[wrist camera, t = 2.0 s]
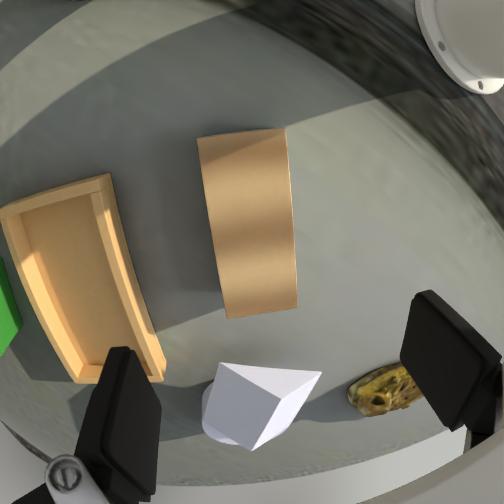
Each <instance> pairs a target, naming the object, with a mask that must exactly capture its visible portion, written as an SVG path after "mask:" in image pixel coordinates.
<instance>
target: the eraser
mask: <svg viewBox="0 0 504 504" xmlns="http://www.w3.org/2000/svg"><path fill="white" fill-rule="evenodd" d="M197 146H198V153H199V160H200V167H201V173H202V180H203V186H204V193H205V199H206V205H207V211H208V217H209V223H210V229H211V235H212V241H213V247H214V252H215V258H216V263H217V269H218V274H219V280H220V285H221V291H222V296H223V301H224V306H225V311H226V316H227V319H229V318H236V317H243V316H249V315H256V314H262V313H268V312H274V311H280V310H286V309H292V308H297V307H298V302H297V279H296V260H295V242H294V226H293V212H292V198H291V185H290V173H289V162H288V151H287V140H286V130H285V128H265V129H255V130H246V131H238V132H230V133H222V134H215V135H209V136H202V137H199V138H197Z"/></svg>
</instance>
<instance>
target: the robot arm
mask: <svg viewBox="0 0 504 504" xmlns="http://www.w3.org/2000/svg"><path fill="white" fill-rule="evenodd" d="M415 10H416V15H417V19H418V23H419V26H420V29H421V31H422V34H423V36H424V38H425V41H426V43H427V45H428V47H429V49H430V50H431V52H432V54H433V55H434V57H435V59H436V60H437V61H438V63H439V64H440V66H441V67H442V68H443V70H444V71H445V72H446V73H447V74H448V75H449V76H450V77H451V78H452V80H454V81H455V82H456V83H457V84H458V85H460V86H461V87H463V88H464V89H466V90H468V91H470V92H473V93H476V94H493V93H494V92H496V91H498V90H499V89H500V88H501V87H502V86H503V84H504V0H415ZM501 358H502V356H501V355H500V354H499V353H498V352H497V351H496V350H495V349H494V348H493V347H492V346H491V345H490V344H489V343H488V342H487V341H486V340H485V339H484V338H483V337H482V336H481V335H480V334H479V333H478V332H477V331H476V330H475V329H474V328H473V327H472V326H471V325H470V324H469V323H468V322H467V321H466V320H465V319H464V318H463V317H461V316H460V315H459V314H458V313H457V312H456V311H455V310H454V309H453V308H452V307H451V306H450V305H448V304H447V303H446V302H445V301H444V300H443V299H442V298H441V297H440V296H438V295H437V294H436V293H435V292H434V291H432V290H426V291H423V292H419V293H417V294H416V295H415V297H414V299H412V301H411V306H410V311H409V316H408V321H407V326H406V331H405V335H404V339H403V344H402V348H401V352H400V361H401V363H402V365H403V366H404V368H405V369H406V370H407V372H408V373H409V375H410V376H411V377H412V379H413V380H414V382H415V383H416V385H417V386H418V388H419V389H420V391H421V392H422V393H423V395H424V396H425V398H426V399H427V401H428V402H429V404H430V405H431V407H432V408H433V410H434V411H435V413H436V414H437V416H438V417H439V419H440V420H441V422H442V424H443V425H444V426H446V427H449V429H450V430H451V432H453V431H455V430H457V429H458V428H460V427H462V426H463V425H464V424H465V426H466V427H467V433H466V439H465V446H464V452H463V455H461V456H459V457H458V458H456V459H454V460H453V461H451V462H449V463H447V464H445V465H444V466H442V467H440V468H438V469H436V470H434V471H432V472H431V473H429V474H427V475H425V476H423V477H421V478H419V479H417V480H414V481H412V482H410V483H408V484H406V485H403V486H401V487H399V488H397V489H394V490H392V491H390V492H387V493H385V494H382V495H379V496H377V497H374V498H372V499H369V500H366V501H364V502H360V503H357V504H504V363H503V364H501V363H500V360H501ZM161 411H162V410H161V404H160V401H159V399H158V397H157V395H156V393H155V391H154V389H153V387H152V385H151V383H150V381H149V379H148V377H147V375H146V373H145V371H144V369H143V367H142V365H141V362H140V360H139V358H138V356H137V354H136V352H135V350H130V348H129V347H128V346H118V347H111V348H110V349H109V352H108V354H107V357H106V360H105V363H104V366H103V369H102V371H101V374H100V377H99V380H98V383H97V386H96V387H95V388H94V390H93V392H92V395H91V398H90V401H89V404H88V407H87V410H86V414H85V417H84V420H83V424H82V427H81V431H80V434H79V438H78V441H77V445H76V449H75V453H74V456H73V455H69V454H64V455H60V456H57V457H55V458H54V459H52V460H51V461H50V462H49V464H48V465H47V467H46V471H45V483H44V484H42V485H41V486H39V487H37V488H36V489H34V490H33V491H31V492H29V493H28V494H26V495H24V496H23V497H21V498H20V499H18V500H16V501H14V502H13V503H12V504H139V501H140V502H150V499H151V495H154V494H155V491H156V474H157V458H158V445H159V433H160V422H161Z"/></svg>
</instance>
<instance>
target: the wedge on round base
mask: <svg viewBox="0 0 504 504" xmlns="http://www.w3.org/2000/svg"><path fill="white" fill-rule="evenodd" d="M321 373H322V372H318V371H300V370H287V369H275V368H264V367H254V366H245V365H237V364H229V363H222V362H219V366H218V369H217V373H216V376H215V379H214V382H212V383H211V384H210V385H209V386H208V387H207V388H206V389H205V391H204V393H203V395H202V427H203V430H204V431H205V433H206V434H207V435H208V436H210V437H211V438H213V439H215V440H217V441H219V442H223V443H227V444H233V445H241V446H243V447H244V448H246V449H248V450H250V451H253V450H254V449H256V448H257V447H259V446H260V445H262V444H263V443H265V442H266V441H268V440H270V439H272V438H275V437H277V436H278V435H280V434H281V433H283V432H284V431H285V430H286V429H287V428H288V427H289V425H290V424H291V422H292V421H293V419H294V417H295V416H296V414H297V413H298V411H299V410H300V408H301V406H302V405H303V403H304V402H305V400H306V398H307V397H308V395H309V393H310V392H311V390H312V388H313V387H314V385H315V383H316V382H317V380H318V378H319V376H320V375H321Z"/></svg>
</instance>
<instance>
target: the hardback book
mask: <svg viewBox="0 0 504 504" xmlns="http://www.w3.org/2000/svg"><path fill="white" fill-rule="evenodd" d="M22 325H23V322H22V320H21V317H20V314H19V311H18V309H17V306H16V303H15V300H14V297H13V294H12V291H11V288H10V284H9V281H8V278H7V274H6V271H5V267H4V263H3V260H2V258H0V357H1V355H2V354H3V352H4V351H5V349H6V348H7V346H8V345H9V344H10V342H11V341H12V339H13V338H14V336H15V335H16V334H17V332H18V331H19V329H20V328H21V327H22Z"/></svg>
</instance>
